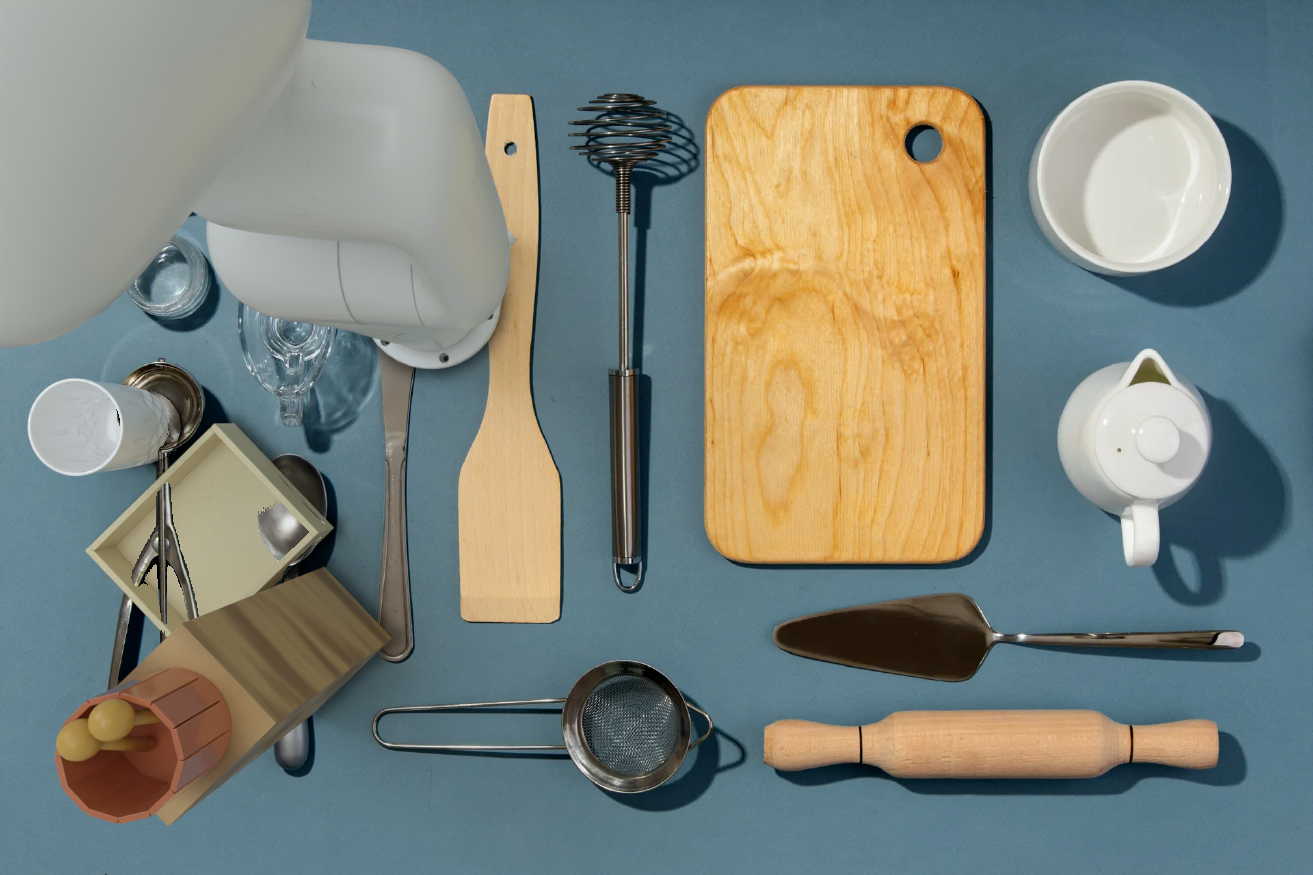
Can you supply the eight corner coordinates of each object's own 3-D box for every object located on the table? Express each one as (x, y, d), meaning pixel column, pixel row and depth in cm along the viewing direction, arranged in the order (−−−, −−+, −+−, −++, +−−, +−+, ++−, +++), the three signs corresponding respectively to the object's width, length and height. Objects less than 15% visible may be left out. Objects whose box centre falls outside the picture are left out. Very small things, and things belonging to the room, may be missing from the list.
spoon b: (157, 718, 61) (72, 708, 54) (175, 745, 60) (91, 739, 53) (128, 744, 60) (39, 738, 54) (146, 773, 60) (57, 770, 53)
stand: (324, 566, 85) (181, 623, 61) (392, 638, 85) (276, 723, 61) (246, 641, 85) (74, 727, 61) (314, 713, 85) (168, 827, 61)
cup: (175, 643, 61) (119, 667, 55) (255, 728, 61) (208, 761, 55) (94, 722, 61) (29, 755, 55) (173, 807, 61) (117, 849, 55)
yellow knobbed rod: (191, 684, 60) (101, 691, 53) (210, 714, 60) (120, 725, 53) (165, 708, 60) (70, 719, 53) (182, 738, 60) (89, 753, 53)
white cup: (192, 387, 85) (126, 383, 75) (185, 473, 85) (118, 480, 75) (108, 379, 85) (31, 373, 75) (100, 465, 85) (23, 470, 75)
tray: (234, 423, 85) (214, 423, 81) (334, 527, 85) (318, 532, 81) (109, 545, 85) (84, 550, 82) (208, 649, 85) (187, 659, 82)
